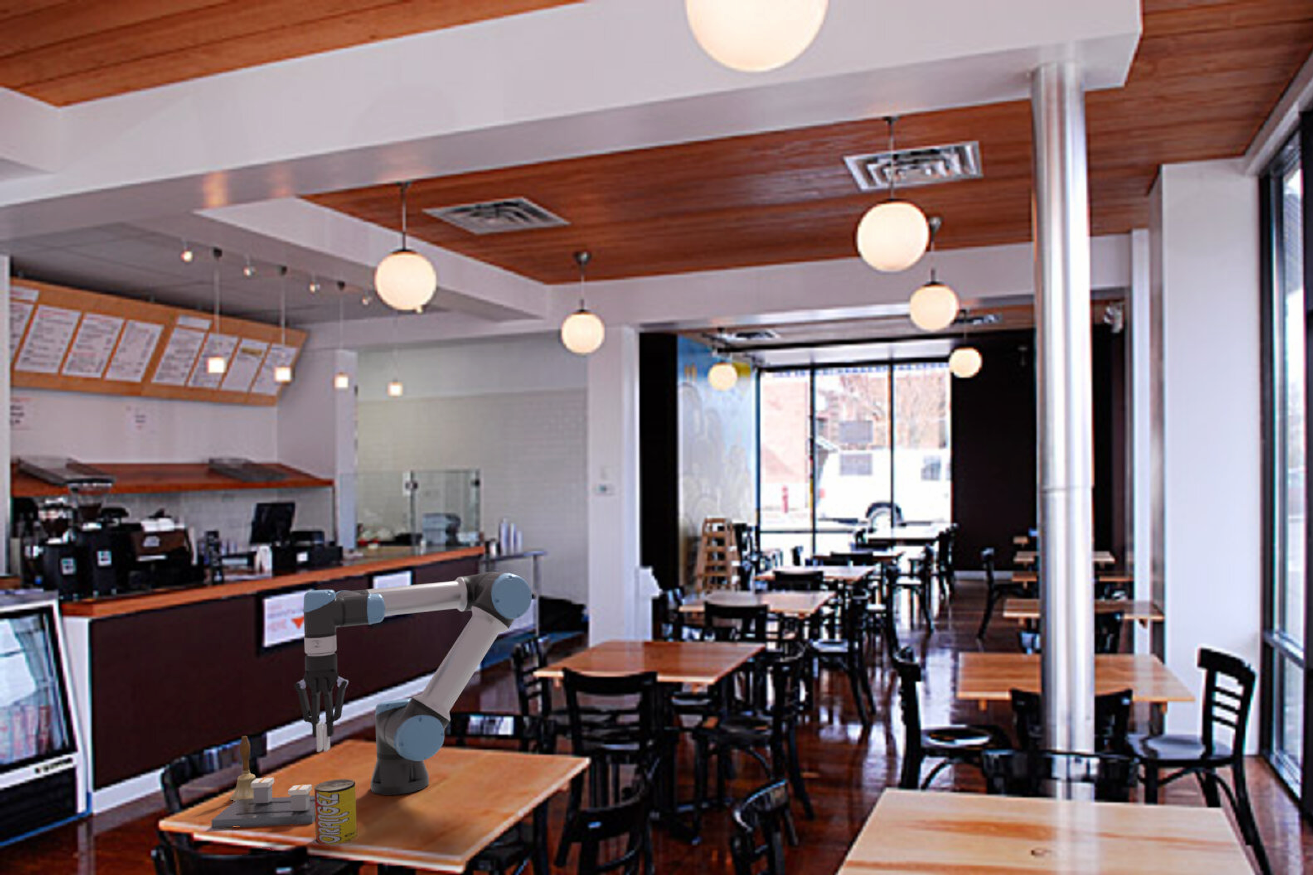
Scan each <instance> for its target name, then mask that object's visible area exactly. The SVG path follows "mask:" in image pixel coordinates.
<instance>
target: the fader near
mask: <svg viewBox="0 0 1313 875" xmlns="http://www.w3.org/2000/svg"><path fill="white" fill-rule="evenodd" d="M312 787H313V785H312V784H304V783H303V784H298V785H295V784H294V785H292V787H290V788H289V789H288V791H287V794H288V796H290V797H291V811H306V810H307V809H308V808H309V807H310V796H311V795H310V792H311V791H312V790H313V788H312Z"/></svg>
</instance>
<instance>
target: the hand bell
mask: <svg viewBox="0 0 1313 875" xmlns="http://www.w3.org/2000/svg"><path fill="white" fill-rule="evenodd" d="M239 753H240V757H241V761H242V774H241V775H239V776H238V777H237V782H236V787H235V789H234V792H233V794H232V795H231V796H230V797H229V800H230V801H231V800H233V801H232V802H234V801H236V800H238V799H254V797H253V788H251V783H252V782H253V781H254V780H255V779H257V777H256V775H255V774H253V773H251V770H250V760H249V759H250V755H251V744H250V741H249V739H248V736H247V735H242V736H241V740H240V743H239Z"/></svg>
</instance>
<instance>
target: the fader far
mask: <svg viewBox="0 0 1313 875" xmlns="http://www.w3.org/2000/svg"><path fill="white" fill-rule="evenodd" d="M274 783H275V777H265V776H264V777H261V778H256V779H255V780H254V781H253V782H252V783H251V788H253V797H254V803H268V802H270V801H271V800H272V798H273V784H274Z"/></svg>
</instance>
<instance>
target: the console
mask: <svg viewBox="0 0 1313 875" xmlns="http://www.w3.org/2000/svg"><path fill="white" fill-rule="evenodd" d="M314 822H315V795H310V807H309V808H308V809H307V810H306V811H291V796H281V797H280V796H279V797H272V800H271V801H270V802H268V803H254V799H238V800H236V801H235V802H234V801H233V802H232V803H231V804H230V805H228V806H227V807H226V808H225V809H223V811H221V812H220V813H219V814H217V815H216V816H215V817H214V818H212V819H211V830H212V829H214V830H215V829H227V828H226V827H233V826H240V827H239V828H250V827H251V828H254V827H268V826H269V827H270V826H271V827H272V826H273V827H274V826H288V825H289V826H291V825H290V824H293V825H309V824H311V825H312V824H313V823H314ZM223 827H225V828H223Z"/></svg>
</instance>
